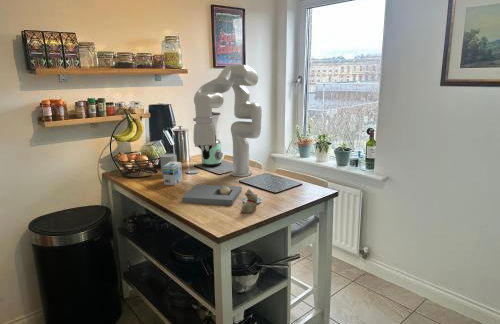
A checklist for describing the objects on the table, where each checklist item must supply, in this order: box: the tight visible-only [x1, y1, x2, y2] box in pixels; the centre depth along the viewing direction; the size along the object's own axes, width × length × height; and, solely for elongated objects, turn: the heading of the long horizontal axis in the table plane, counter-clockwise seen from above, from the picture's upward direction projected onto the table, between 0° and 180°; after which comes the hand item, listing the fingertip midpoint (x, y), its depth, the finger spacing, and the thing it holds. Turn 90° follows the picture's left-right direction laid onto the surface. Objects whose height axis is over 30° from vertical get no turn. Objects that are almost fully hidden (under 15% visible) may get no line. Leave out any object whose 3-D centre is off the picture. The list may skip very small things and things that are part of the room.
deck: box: [181, 184, 243, 206], centre depth 170 cm, size 20×24×2 cm
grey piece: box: [159, 153, 178, 178], centre depth 206 cm, size 10×10×12 cm
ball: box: [220, 185, 231, 195], centre depth 170 cm, size 5×5×5 cm
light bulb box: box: [163, 161, 183, 186], centre depth 192 cm, size 11×7×11 cm, turn 168°
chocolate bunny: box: [240, 188, 259, 214], centre depth 151 cm, size 6×8×10 cm
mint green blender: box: [200, 111, 224, 167], centre depth 227 cm, size 19×13×35 cm
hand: (206, 158), depth 167 cm, fingers closed
